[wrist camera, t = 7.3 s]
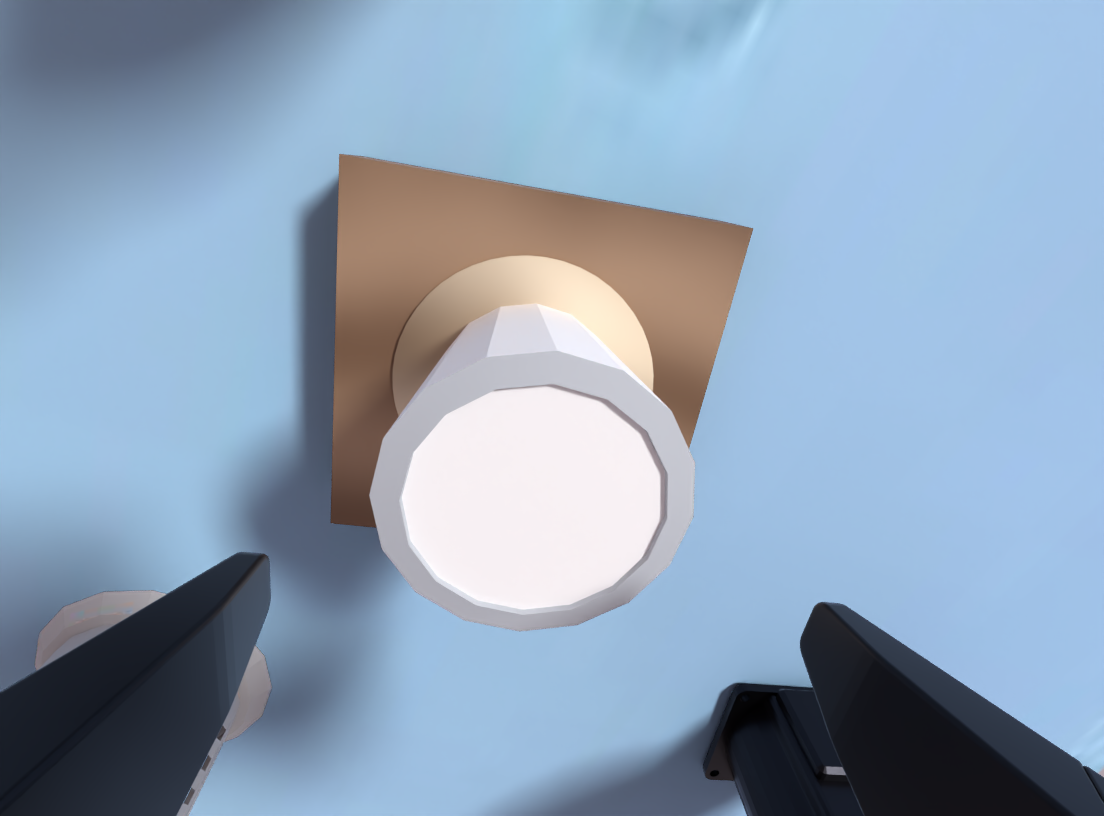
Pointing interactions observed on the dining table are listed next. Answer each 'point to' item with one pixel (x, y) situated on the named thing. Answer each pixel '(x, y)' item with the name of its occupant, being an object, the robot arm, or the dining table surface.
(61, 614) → the french press
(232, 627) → the robot arm
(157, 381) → the dining table surface
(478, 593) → the white cup
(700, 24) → the dining table surface
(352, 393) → the walnut plinth
